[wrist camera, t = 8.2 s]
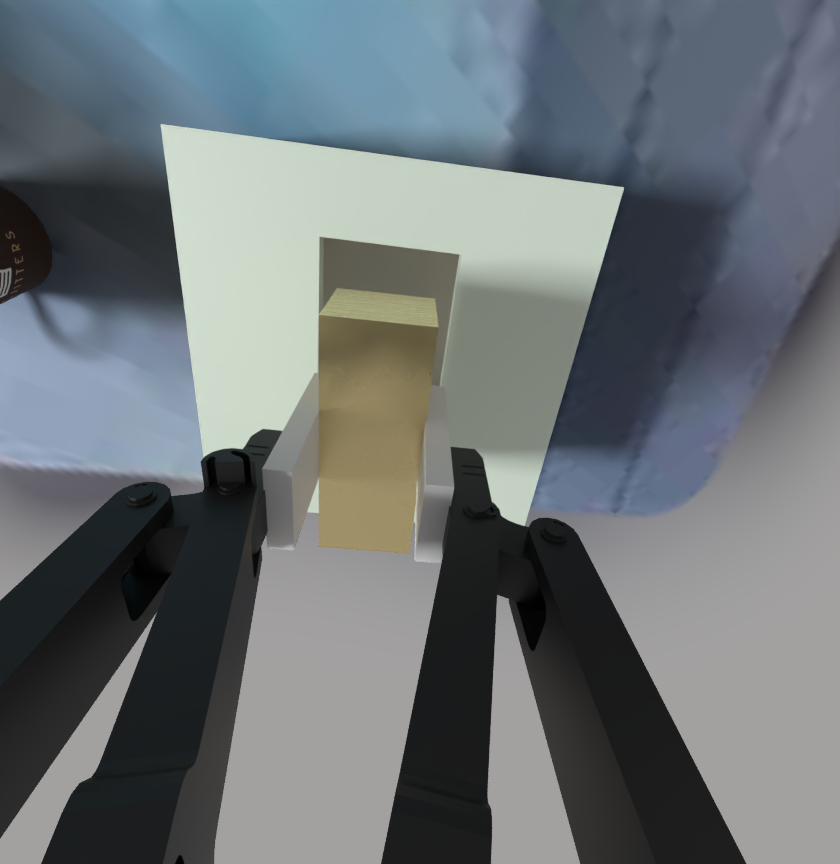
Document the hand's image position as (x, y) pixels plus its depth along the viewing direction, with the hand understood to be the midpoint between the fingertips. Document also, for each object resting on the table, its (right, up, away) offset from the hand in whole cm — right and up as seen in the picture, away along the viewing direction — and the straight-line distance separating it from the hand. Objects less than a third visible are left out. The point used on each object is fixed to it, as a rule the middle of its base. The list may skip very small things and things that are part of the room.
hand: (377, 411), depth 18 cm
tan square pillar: (0, 0, +1) cm, 1 cm away
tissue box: (0, +7, +13) cm, 15 cm away
